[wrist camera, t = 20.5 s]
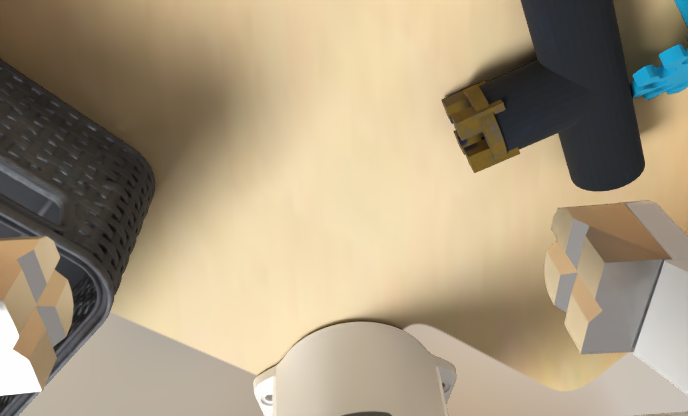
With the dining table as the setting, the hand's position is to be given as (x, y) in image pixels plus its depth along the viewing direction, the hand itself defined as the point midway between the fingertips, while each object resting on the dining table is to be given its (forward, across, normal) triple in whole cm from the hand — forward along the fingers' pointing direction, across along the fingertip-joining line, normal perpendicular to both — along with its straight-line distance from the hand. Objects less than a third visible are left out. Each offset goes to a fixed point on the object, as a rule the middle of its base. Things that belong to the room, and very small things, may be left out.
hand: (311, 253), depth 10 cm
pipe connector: (+32, -15, +10) cm, 37 cm away
